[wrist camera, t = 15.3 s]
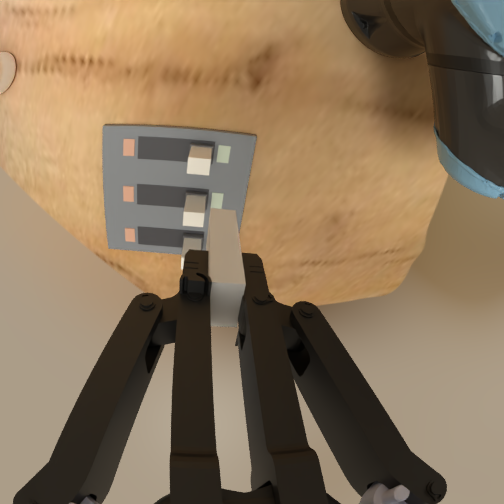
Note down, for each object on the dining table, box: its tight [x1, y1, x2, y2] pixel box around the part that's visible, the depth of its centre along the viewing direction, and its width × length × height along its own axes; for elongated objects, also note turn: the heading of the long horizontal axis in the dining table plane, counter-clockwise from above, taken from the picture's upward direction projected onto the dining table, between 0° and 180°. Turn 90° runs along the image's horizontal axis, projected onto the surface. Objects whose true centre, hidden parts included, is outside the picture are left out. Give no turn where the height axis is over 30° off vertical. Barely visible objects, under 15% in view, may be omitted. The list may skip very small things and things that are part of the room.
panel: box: [103, 124, 257, 255], centre depth 41 cm, size 20×21×1 cm
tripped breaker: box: [181, 233, 203, 269], centre depth 43 cm, size 2×3×6 cm
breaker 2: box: [183, 191, 207, 227], centre depth 39 cm, size 2×3×6 cm
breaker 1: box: [187, 143, 214, 175], centre depth 35 cm, size 2×3×6 cm
